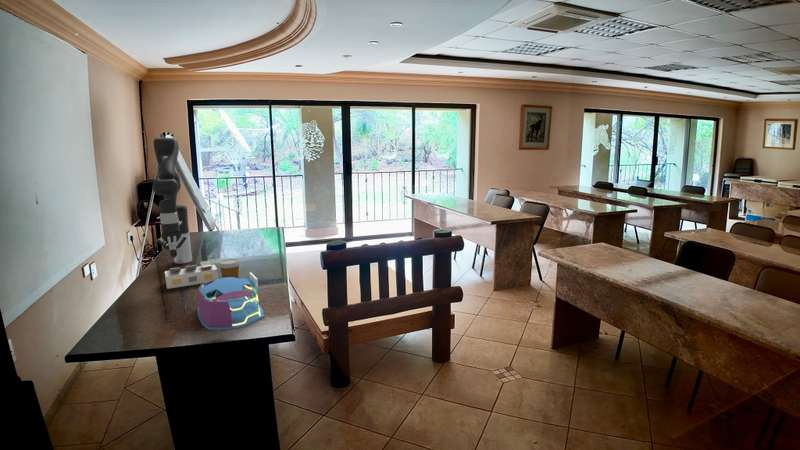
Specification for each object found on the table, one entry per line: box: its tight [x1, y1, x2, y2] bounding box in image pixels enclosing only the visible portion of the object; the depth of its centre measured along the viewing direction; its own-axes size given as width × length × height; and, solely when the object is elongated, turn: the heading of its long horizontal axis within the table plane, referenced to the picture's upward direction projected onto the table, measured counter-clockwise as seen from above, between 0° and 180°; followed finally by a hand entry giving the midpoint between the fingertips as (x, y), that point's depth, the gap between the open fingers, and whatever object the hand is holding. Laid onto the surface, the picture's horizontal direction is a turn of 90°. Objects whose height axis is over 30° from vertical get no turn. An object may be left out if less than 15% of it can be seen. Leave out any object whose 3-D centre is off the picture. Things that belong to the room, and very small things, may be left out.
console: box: [164, 264, 219, 290], centre depth 218 cm, size 10×23×7 cm, turn 120°
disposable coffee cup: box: [218, 258, 240, 278], centre depth 212 cm, size 10×10×12 cm
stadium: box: [196, 272, 265, 331], centre depth 179 cm, size 35×24×14 cm
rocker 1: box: [169, 267, 182, 272], centre depth 213 cm, size 8×4×1 cm, turn 30°
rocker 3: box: [199, 260, 213, 270], centre depth 220 cm, size 8×4×1 cm, turn 30°
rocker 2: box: [184, 264, 197, 270], centre depth 217 cm, size 8×4×1 cm, turn 30°
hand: (173, 257), depth 210 cm, fingers closed
